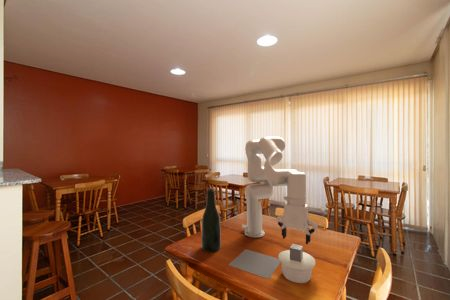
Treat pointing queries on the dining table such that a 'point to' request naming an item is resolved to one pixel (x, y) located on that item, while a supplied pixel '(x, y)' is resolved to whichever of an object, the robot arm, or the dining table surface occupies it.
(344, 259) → the dining table surface
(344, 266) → the dining table surface
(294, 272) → the ramekin
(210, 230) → the green wine bottle
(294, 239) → the dining table surface
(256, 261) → the mat
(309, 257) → the lid
